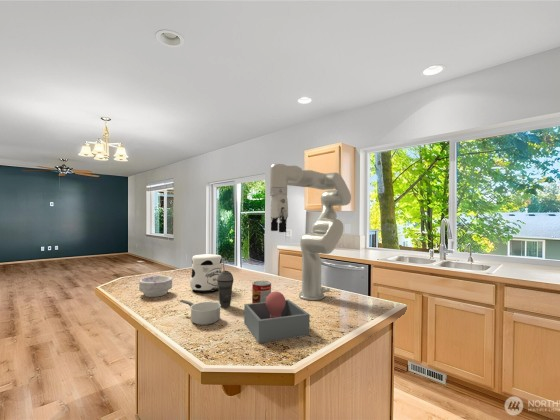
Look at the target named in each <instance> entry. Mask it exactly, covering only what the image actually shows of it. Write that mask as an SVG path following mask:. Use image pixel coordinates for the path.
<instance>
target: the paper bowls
mask: <svg viewBox="0 0 560 420" xmlns="http://www.w3.org/2000/svg"><path fill="white" fill-rule="evenodd" d="M138 281H139V282H138V283H139V284H138V285H139V286H138V287H139V290H138V291H139V292H141V293H142V294H143V295H144V296H145V297H147V298H158V297H162V296H165V295H167V293H168V291H170V290H171V289H172V288H173V278H172V277H171V276H169V275H168V276H167V275H156V276H155V275H152V276H146V277H142V278H140V279H139V280H138Z"/></svg>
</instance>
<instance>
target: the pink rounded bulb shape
mask: <svg viewBox="0 0 560 420" xmlns="http://www.w3.org/2000/svg"><path fill="white" fill-rule="evenodd" d="M285 300H286V297H285V295H284V294H283V293H282V292H280V291H277V290H276V291H271V293H270V294H269V295H268V296H267V298H266V306H267V308H268V310H269V312H270V317H271V318H277V317H281V313H282V311H283V309H284V307H285V303H286V301H285Z"/></svg>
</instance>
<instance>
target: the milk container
mask: <svg viewBox="0 0 560 420" xmlns="http://www.w3.org/2000/svg"><path fill="white" fill-rule="evenodd" d="M222 270H223V259H222V255H220V254H216V253H215V254H209V253H206V254H195V255H193V256H192V259H191V275H190V278H189V286H190V288H191V290H192V291H195V292H199V293H205V292H206V293H207V292H209V293H210V292H214V291H219V290H218V282H217V278H218V275H219V274H220V273H221V272H222Z"/></svg>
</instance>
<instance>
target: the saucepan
mask: <svg viewBox="0 0 560 420" xmlns="http://www.w3.org/2000/svg"><path fill="white" fill-rule="evenodd" d="M179 302H180V303H182V304H186V305H188V307H189V309H190V321H191V322H192V323H194V324H196V325H201V326H202V325H203V326H207V325H211V324H215V323H216V322H217V321H219V320H220V318H221V304H220V303H219V302H216V301H202V302H196V303H194V302H191V301H188V300H186V299H185V300H184V299H180V300H179Z"/></svg>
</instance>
